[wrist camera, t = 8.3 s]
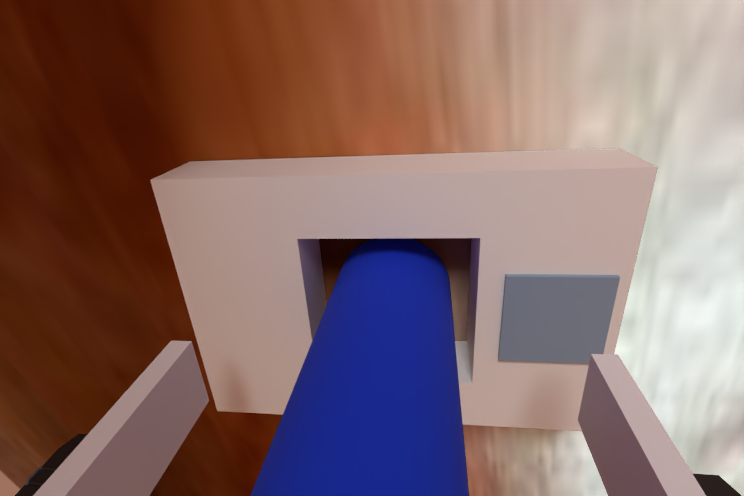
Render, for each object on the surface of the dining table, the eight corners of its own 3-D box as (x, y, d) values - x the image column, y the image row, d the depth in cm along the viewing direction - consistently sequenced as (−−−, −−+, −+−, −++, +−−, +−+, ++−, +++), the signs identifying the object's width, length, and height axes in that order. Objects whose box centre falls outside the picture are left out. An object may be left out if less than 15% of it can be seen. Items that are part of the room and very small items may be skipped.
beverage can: (361, 332, 22) (248, 800, 8) (326, 245, 20) (104, 669, 6) (460, 313, 20) (521, 829, 7) (434, 218, 18) (448, 675, 5)
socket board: (190, 161, 19) (146, 181, 16) (619, 147, 16) (661, 168, 13) (241, 370, 24) (215, 414, 21) (574, 383, 21) (597, 435, 18)
